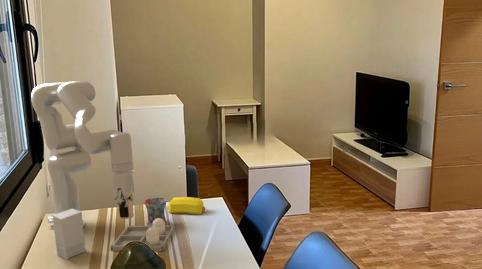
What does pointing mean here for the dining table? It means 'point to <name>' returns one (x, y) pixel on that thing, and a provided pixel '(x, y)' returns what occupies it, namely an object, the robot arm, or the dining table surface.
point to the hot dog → (186, 205)
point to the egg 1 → (129, 209)
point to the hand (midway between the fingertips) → (126, 213)
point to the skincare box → (69, 233)
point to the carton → (141, 237)
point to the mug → (155, 209)
